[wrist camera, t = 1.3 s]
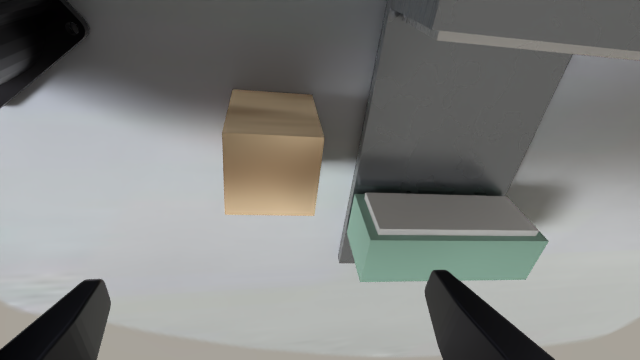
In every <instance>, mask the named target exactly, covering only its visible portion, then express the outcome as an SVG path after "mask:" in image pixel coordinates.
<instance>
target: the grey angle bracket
mask: <svg viewBox="0 0 640 360" xmlns="http://www.w3.org/2000/svg"><path fill="white" fill-rule="evenodd" d="M572 54H577V55H587V56H597V57H607V58H617V59H627V60H637V61H640V0H387V5H386V11H385V16H384V21H383V26H382V31H381V37H380V42H379V47H378V52H377V57H376V62H375V68H374V73H373V78H372V83H371V88H370V94H369V99H368V104H367V109H366V114H365V119H364V125H363V130H362V135H361V140H360V145H359V151H358V156H357V161H356V166H355V171H354V176H353V182H352V187H351V192H350V197H349V202H348V208H347V213H346V218H345V223H344V228H343V233H342V239H341V244H340V249H339V254H338V259H339V263H355V261H354V257H353V254H352V250H351V246H350V242H349V239H348V235H347V230H348V225H349V220H350V215H351V210H352V205H353V200H354V195H355V194H365V193H401V194H439V195H476V196H505V195H506V193H507V191H508V189H509V187H510V185H511V182H512V180H513V178H514V176H515V174H516V172H517V170H518V168H519V166H520V163H521V161H522V159H523V157H524V155H525V153H526V151H527V149H528V147H529V144H530V142H531V140H532V138H533V136H534V134H535V132H536V130H537V128H538V125H539V123H540V121H541V119H542V117H543V115H544V113H545V111H546V109H547V107H548V104H549V102H550V100H551V98H552V96H553V94H554V92H555V90H556V88H557V85H558V83H559V81H560V79H561V77H562V75H563V73H564V71H565V69H566V66H567V64H568V62H569V60H570V58H571V56H572Z"/></svg>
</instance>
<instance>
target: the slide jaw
mask: <svg viewBox="0 0 640 360" xmlns="http://www.w3.org/2000/svg"><path fill="white" fill-rule="evenodd" d="M347 235H348V239H349V242H350V246H351V250H352V254H353V257H354V261H355V265H356V268H357V272H358V276H359V280H360V282H391V281H428V279H429V277H430V274H431V272H432V271H433V270H447V271H449V272H450V273H451V274H452V275H453V276H455V277H456V278H457V279H458V280H460V281H461V280H526V278H527V276H528V275H529V273H530V271H531V270H532V268H533V266H534V265H535V263H536V261H537V260H538V258H539V256H540V255H541V253H542V251H543V250H544V248H545V246H546V245H547V243H548V242H549V241H548V240H547V239H546V238H545V237H544V236H543V235H542V234H541V233H540V231H539V230H538V229H537V228H536V227H535V226H534V225H533V224H532V223H531V222H530V220H529V219H528V218H527V217H526V216H525V215H524V214H523V213H522V212H521V211H520V210H519V209H518V208H517V207H516V206H515V205H514V203H513V202H512V201H511V200H510V199H509V198H508V197H507V196H476V195H439V194H401V193H365V194H355V195H354V200H353V205H352V210H351V215H350V220H349V225H348V230H347Z"/></svg>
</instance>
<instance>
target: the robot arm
mask: <svg viewBox="0 0 640 360" xmlns="http://www.w3.org/2000/svg"><path fill="white" fill-rule="evenodd" d="M70 22H73V23H74V24H76V25H77V27H78V28H79V32H78V33H75V32H74V31H72V29H71V28H70ZM88 34H89V27H88V24H87V23H86V21H85V20H84V19H83V18H82V17H81V16H80V15H79V14H78V13H77V12H76V11H75V9H74V8H73V7H72V6H71V5H70V4H69V3H68V2H67V1H66V0H0V108H1V107H3V106H4V105H6V104H7V103H8V102H9V101H10V100H12V99H13V98H14V97H15V96H16V95H18V94H19V93H20V92H21V91H22V90H24V89H25V88H26V87H27V86H28V85H29V84H31V83H32V82H33V81H34V80H35V79H37V78H38V77H39V76H40V75H41V74H43V73H44V72H45V71H46V70H47V69H49V68H50V67H51V66H52V65H53V64H55V63H56V62H57V61H58V60H59V59H61V58H62V57H63V56H64V55H65V54H67V53H68V52H69V51H70V50H71V49H73V48H74V47H75V46H76V45H77V44H79V43H80V42H81V41H82V40H83V39H85V38H86V37H87V35H88ZM425 297H426V301H427V305H428V309H429V313H430V317H431V321H432V325H433V328H434V332H435V336H436V340H437V343H438V347H439V349H440V352H441V355H442V358H443V360H555V359H554V358H553V357H551V356H550V355H549V354H547V352H545V351H544V350H543V349H542V348H541V347H539V346H538V345H537V344H536V343H534V342H533V341H532V340H531V339H530V338H528V337H527V336H526V335H525V334H524V333H522V332H521V331H520V330H519V329H518V328H516V327H515V326H514V325H513V324H512V323H510V322H509V321H508V320H507V319H505V318H504V317H503V316H502V315H501V314H499V313H498V312H497V311H496V310H495V309H493V308H492V307H491V306H490V305H489V304H487V303H486V302H485V301H484V300H482V299H481V298H480V297H479V296H478V295H476V294H475V293H474V292H473V291H472V290H470V289H469V288H468V287H467V286H466V285H464V284H463V283H462V282H461V281H460V280H458V279H457V278H456V277H455V276H453V275H452V274H451V273H450V272H449V271H447V270H433V271H432V272H431V274H430V277H429V279H428V282H427V285H426V287H425ZM110 306H111V301H110V297H109V294H108V291H107V288H106V285H105V282H104V281H103V280H102V279H87V280H84V281H82V282H81V283H80V284H79V285H77V286H76V287H75V288H74V289H73V290H71V291H70V292H69V293H68V294H67V295H65V296H64V297H63V298H62V299H61V300H59V301H58V302H57V303H56V304H55V305H53V306H52V307H51V308H50V309H49V310H47V311H46V312H45V313H44V314H42V315H41V316H40V317H39V318H38V319H36V320H35V321H34V322H33V323H32V324H30V325H29V326H28V327H27V328H26V329H24V330H23V331H22V332H21V333H20V334H19V335H17V336H16V337H15V338H14V339H12V340H11V341H10V342H9V343H8V344H6V345H5V346H4V347H3V348H1V349H0V360H97V356H98V353H99V348H100V345H101V341H102V337H103V334H104V330H105V326H106V322H107V318H108V315H109V311H110Z"/></svg>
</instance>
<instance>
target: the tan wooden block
mask: <svg viewBox="0 0 640 360" xmlns="http://www.w3.org/2000/svg"><path fill="white" fill-rule="evenodd" d="M324 138H325V137H324V134H323V131H322V127H321V124H320V120H319V117H318V113H317V110H316V106H315V103H314V100H313V96H312V95H309V94H294V93H280V92H266V91H251V90H237V89H233V90H232V94H231V98H230V102H229V106H228V110H227V115H226V119H225V123H224V127H223V131H222V143H223V172H224V201H225V215H291V216H314V213H315V206H316V198H317V191H318V183H319V176H320V168H321V161H322V153H323V146H324Z"/></svg>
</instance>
